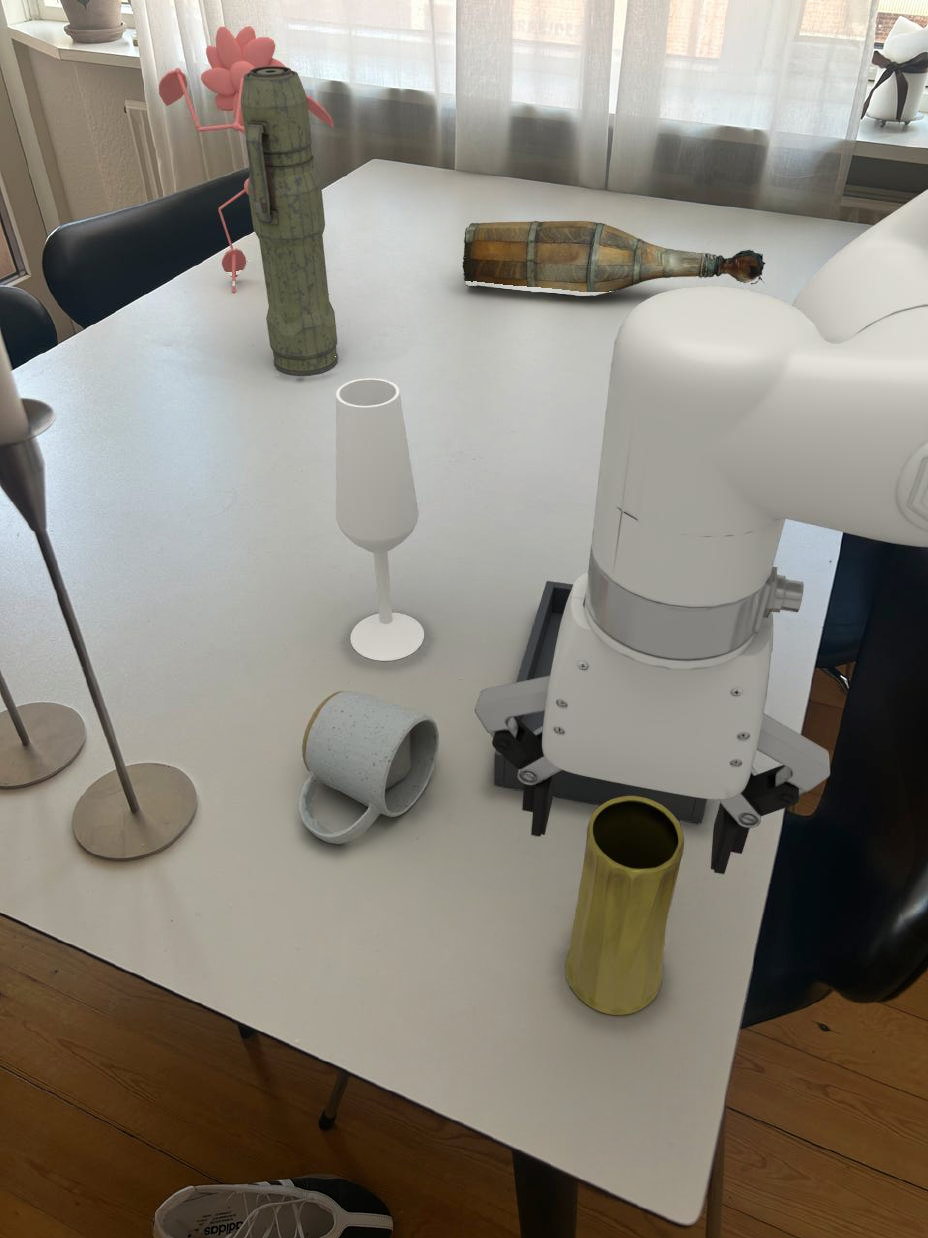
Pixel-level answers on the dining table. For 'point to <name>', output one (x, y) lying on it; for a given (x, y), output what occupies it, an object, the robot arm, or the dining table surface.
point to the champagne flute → (376, 502)
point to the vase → (624, 904)
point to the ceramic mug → (366, 758)
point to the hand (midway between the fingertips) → (628, 833)
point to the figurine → (230, 96)
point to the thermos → (288, 221)
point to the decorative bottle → (585, 257)
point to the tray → (534, 667)
